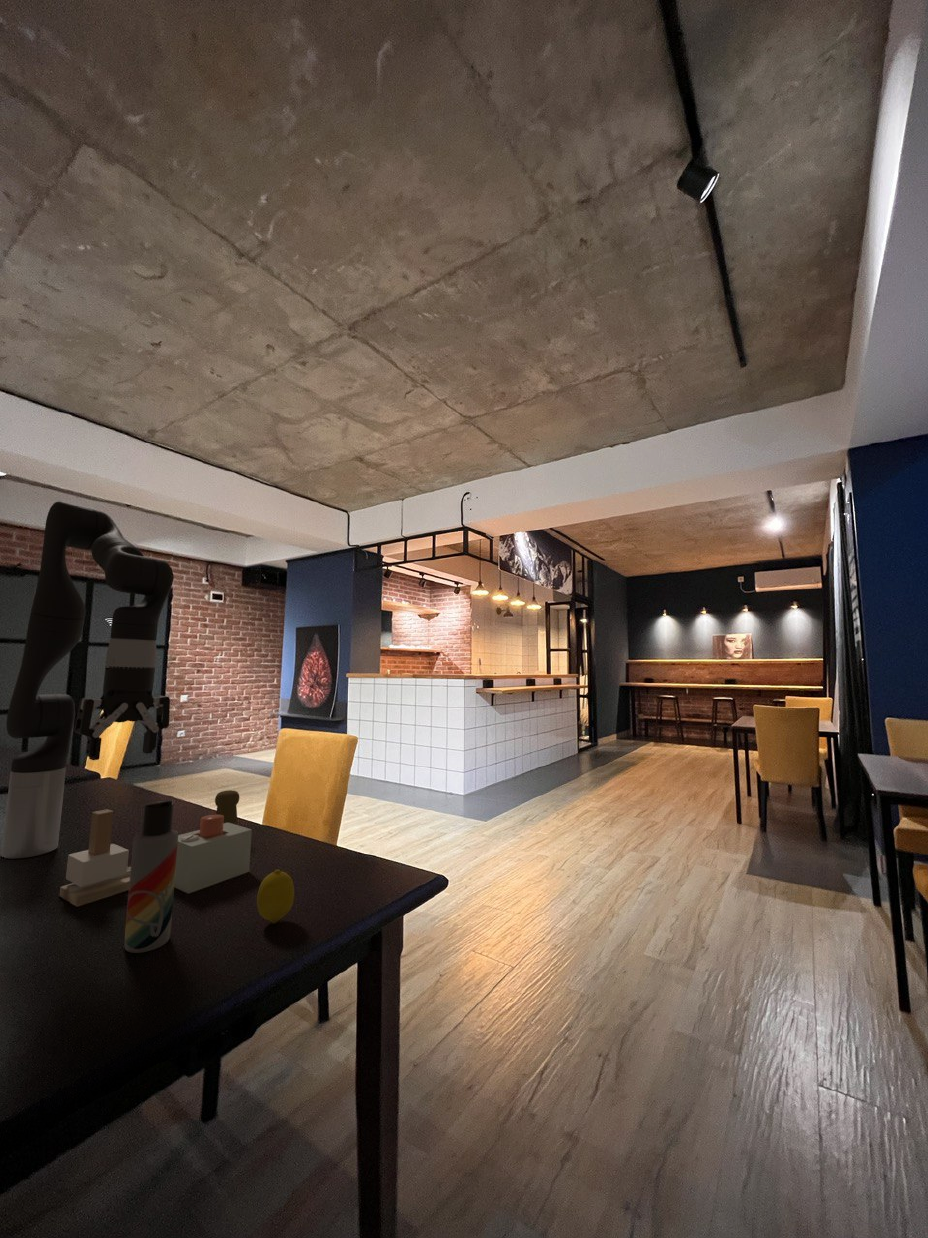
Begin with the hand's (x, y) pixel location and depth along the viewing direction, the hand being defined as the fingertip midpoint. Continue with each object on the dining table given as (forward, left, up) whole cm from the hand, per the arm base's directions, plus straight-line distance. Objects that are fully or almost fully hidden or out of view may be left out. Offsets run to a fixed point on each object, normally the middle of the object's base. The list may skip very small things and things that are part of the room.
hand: (121, 756), depth 88 cm
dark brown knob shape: (-11, +28, -24) cm, 39 cm away
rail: (-4, +8, -24) cm, 26 cm away
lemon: (+31, +10, -24) cm, 40 cm away
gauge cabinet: (+6, +14, -24) cm, 28 cm away
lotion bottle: (+21, -4, -24) cm, 32 cm away
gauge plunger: (+6, +15, -19) cm, 24 cm away
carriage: (-4, -1, -21) cm, 21 cm away
